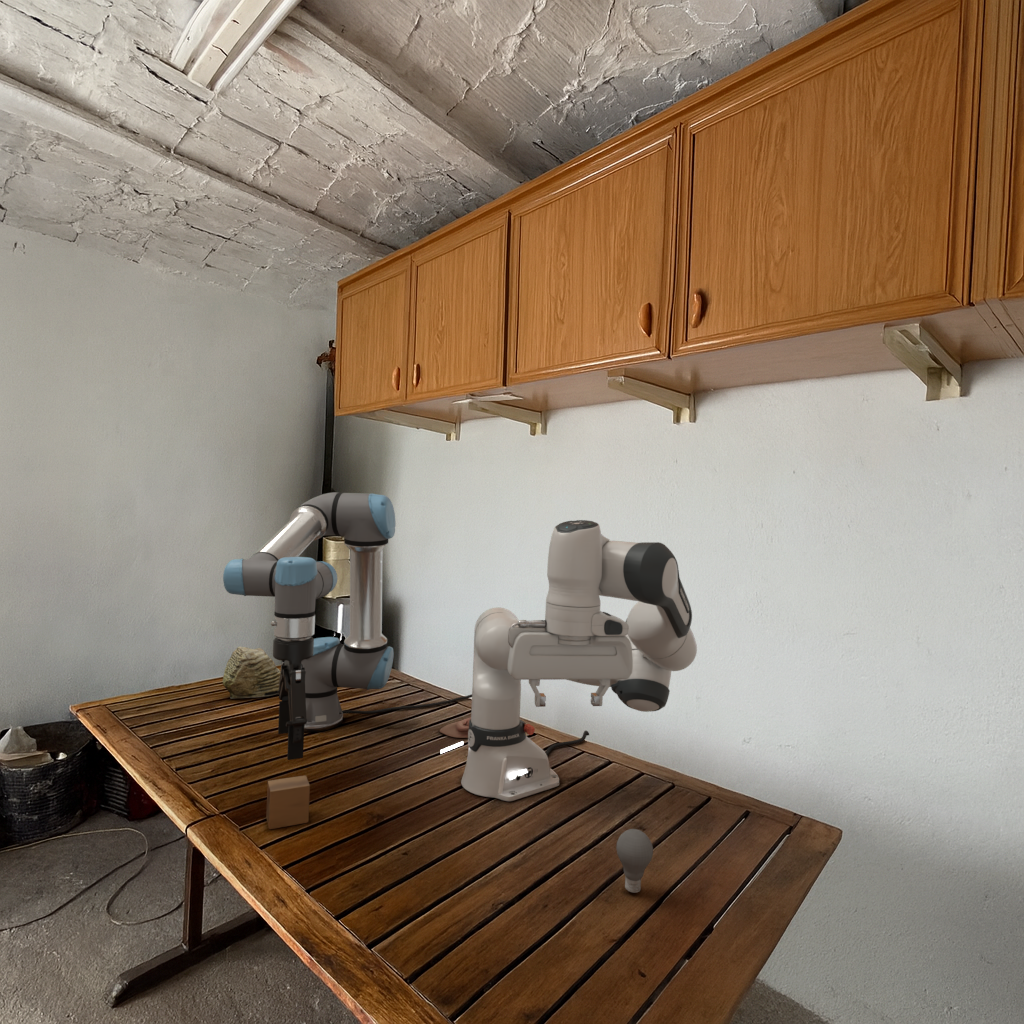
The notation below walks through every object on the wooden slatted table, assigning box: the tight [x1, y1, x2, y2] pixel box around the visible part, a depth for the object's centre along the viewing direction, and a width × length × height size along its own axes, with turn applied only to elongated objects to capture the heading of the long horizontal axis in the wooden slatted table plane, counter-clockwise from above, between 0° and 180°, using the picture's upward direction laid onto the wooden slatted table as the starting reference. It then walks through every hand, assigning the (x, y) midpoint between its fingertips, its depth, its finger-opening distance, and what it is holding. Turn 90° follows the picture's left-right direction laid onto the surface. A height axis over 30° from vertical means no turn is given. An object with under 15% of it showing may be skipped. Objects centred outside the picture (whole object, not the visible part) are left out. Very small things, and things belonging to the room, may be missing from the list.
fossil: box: [222, 646, 281, 699], centre depth 198 cm, size 9×18×15 cm, turn 132°
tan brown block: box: [265, 775, 311, 830], centre depth 124 cm, size 5×7×7 cm
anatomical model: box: [439, 716, 471, 739], centre depth 175 cm, size 13×4×12 cm
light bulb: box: [615, 828, 654, 894], centre depth 106 cm, size 6×6×10 cm
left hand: (290, 745), depth 124 cm, fingers open, 13 cm apart
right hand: (568, 705), depth 103 cm, fingers open, 8 cm apart
